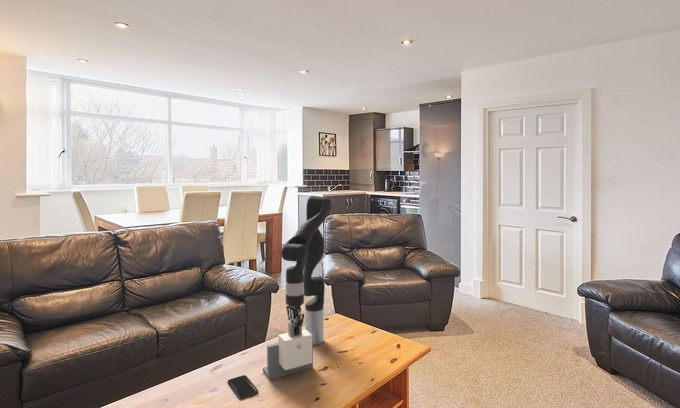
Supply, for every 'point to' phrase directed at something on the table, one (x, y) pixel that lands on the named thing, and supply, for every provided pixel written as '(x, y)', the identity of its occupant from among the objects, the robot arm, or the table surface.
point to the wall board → (275, 368)
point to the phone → (242, 387)
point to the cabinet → (295, 348)
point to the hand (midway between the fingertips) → (295, 333)
